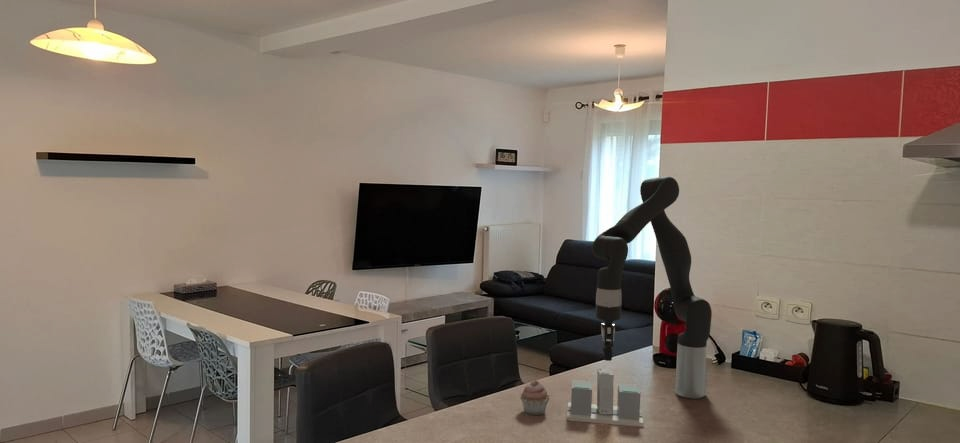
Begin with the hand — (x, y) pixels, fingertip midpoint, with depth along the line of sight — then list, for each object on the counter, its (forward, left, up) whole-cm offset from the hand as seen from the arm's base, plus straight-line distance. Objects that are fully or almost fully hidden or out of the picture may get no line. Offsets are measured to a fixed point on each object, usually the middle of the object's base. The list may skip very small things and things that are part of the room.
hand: (607, 356), depth 188 cm
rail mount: (0, 0, -19) cm, 19 cm away
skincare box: (0, -1, -17) cm, 17 cm away
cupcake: (+18, -11, -19) cm, 28 cm away
